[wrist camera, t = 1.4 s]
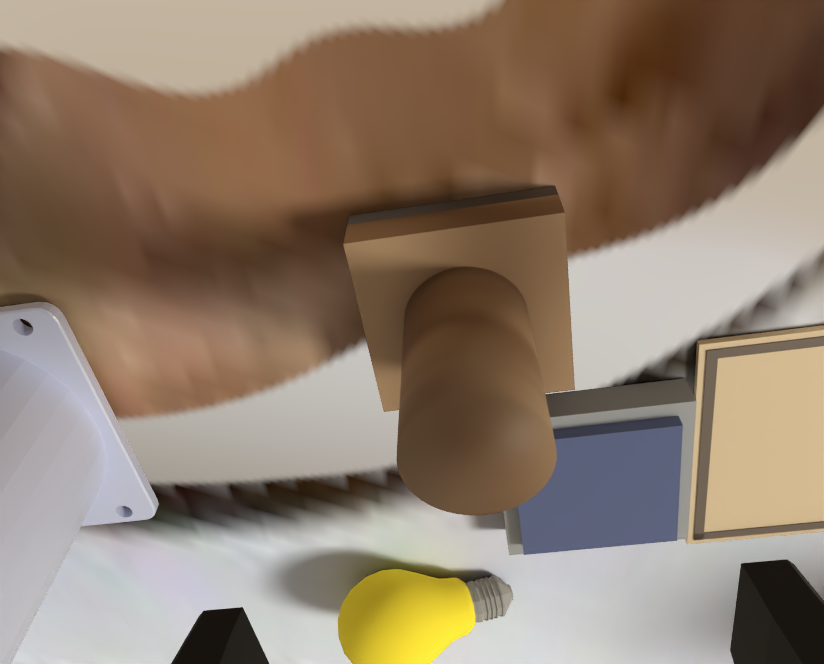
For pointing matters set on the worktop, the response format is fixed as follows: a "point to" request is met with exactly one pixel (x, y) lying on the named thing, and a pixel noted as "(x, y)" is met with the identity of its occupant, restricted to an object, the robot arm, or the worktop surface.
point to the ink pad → (612, 471)
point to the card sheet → (758, 436)
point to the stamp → (468, 340)
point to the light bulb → (414, 615)
